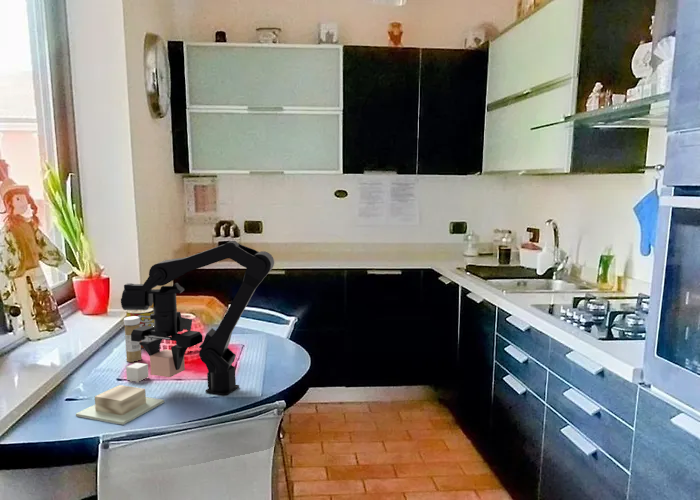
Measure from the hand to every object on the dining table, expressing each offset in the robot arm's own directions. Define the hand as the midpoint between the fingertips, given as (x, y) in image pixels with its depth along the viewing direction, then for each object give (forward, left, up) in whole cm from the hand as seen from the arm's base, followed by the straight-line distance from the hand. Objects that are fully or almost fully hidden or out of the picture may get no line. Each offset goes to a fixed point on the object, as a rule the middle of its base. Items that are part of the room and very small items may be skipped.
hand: (167, 368), depth 147 cm
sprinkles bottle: (+27, -17, -6) cm, 32 cm away
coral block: (0, 0, -1) cm, 1 cm away
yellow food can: (+36, -31, -6) cm, 48 cm away
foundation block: (+3, +14, -5) cm, 15 cm away
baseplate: (+3, +14, -6) cm, 15 cm away
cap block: (+14, -4, -6) cm, 16 cm away
